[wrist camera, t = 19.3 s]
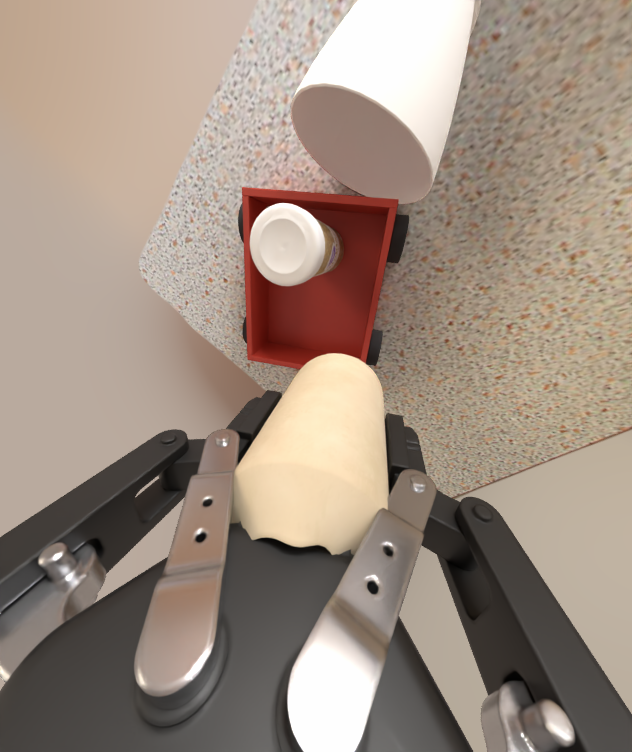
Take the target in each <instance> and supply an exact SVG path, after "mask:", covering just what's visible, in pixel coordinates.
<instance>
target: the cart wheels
mask: <svg viewBox="0 0 632 752" xmlns="http://www.w3.org/2000/svg"><path fill="white" fill-rule="evenodd" d="M408 223H409V216H408V215H399V214H396V216H395V221H394V226H393V231H392V236H391V241H390V246H389V251H388V256H387V261H386V262H391V263H398V262H399V260H400V257H401V254H402V251H403V247H404V243H405V238H406V234H407V229H408ZM238 226H239V232H240V236H241V239H242V241H243V243H244V233H243V203H242V205H241V207H240V210H239V216H238ZM382 334H383V333H382V331H378V330H372V334H371V339H370V344H369V349H368V354H367V359H366V364H368V365H374V366H376V364H377V361H378V357H379V353H380V348H381V342H382ZM243 338H244V341H245V342H246V343H247V325H246V317H245V320H244V323H243Z"/></svg>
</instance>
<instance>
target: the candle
mask: <svg viewBox="0 0 632 752" xmlns="http://www.w3.org/2000/svg"><path fill="white" fill-rule="evenodd" d="M388 496H389V486H388V468H387V450H386V433H385V415H384V399H383V391H382V387H381V384H380V381H379V379H378V378H377V376H376V374H375V373H374V371H373V370H372V369H371V368H370V367H369V366H368V365H367V364H365V363H364V362H362V361H361V360H359V359H357V358H355V357H353V356H349V355H345V354H337V353H332V354H325V355H321V356H318V357H316V358H314V359H312V360H310V361H309V362H307V363H306V364H305V365H304V366H303V367H302V368H301V369H300V370H299V372H298V373H297V374H296V376H295V377H294V379H293V380H292V382H291V383H290V385H289V387H288V388H287V390H286V391H285V393H284V394H283V396H282V398H281V399H280V401H279V402H278V404H277V405H276V407H275V408H274V410H273V412H272V413H271V415H270V416H269V418H268V419H267V421H266V423H265V424H264V426H263V427H262V429H261V430H260V432H259V433H258V435H257V437H256V438H255V440H254V441H253V443H252V444H251V446H250V448H249V449H248V451H247V452H246V454H245V455H244V457H243V458H242V460H241V462H240V463H239V465H238V466H237V468H236V469H235V474H234V505H233V512H232V523H239V522H240V521H241V524H242V526H243V528H244V529H246V531H247V532H248V534H249V536H250V538H251V539H252V540H255V539H259V538H266V537H268V538H274V539H277V540H279V541H281V542H283V543H286V544H288V545H291V546H295V547H306V546H314V545H320V546H323V547H325V548H326V549H327V550H328V551H330V553H331V555H335V554H338V555H339V554H341V553H343V552H345V551H348V550H350V549H351V554H353V555H355V553H356V552H357V550H358V548H359V546H360V544H361V542H362V540H363V538H364V537H365V535H366V533H367V531H368V529H369V527H370V525H371V524H372V522H373V520H374V518H375V516H376V514H377V512H378V511H379V509H381V508H385V509H387V510H388V501H387V498H388Z"/></svg>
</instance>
